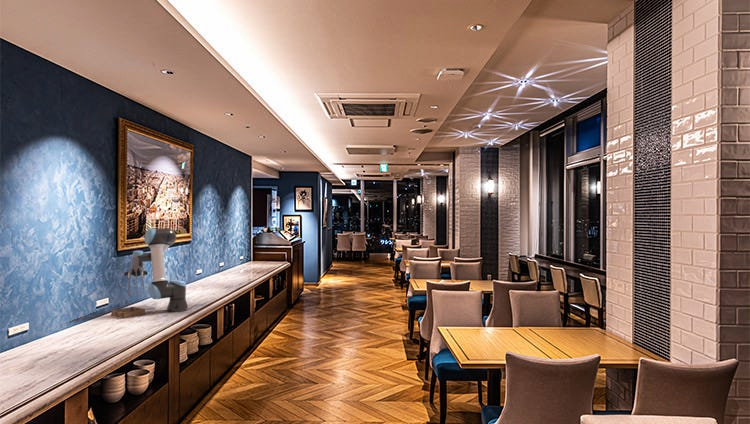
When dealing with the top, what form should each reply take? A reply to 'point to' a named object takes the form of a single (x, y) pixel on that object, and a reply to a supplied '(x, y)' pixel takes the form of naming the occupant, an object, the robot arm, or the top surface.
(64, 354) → the top surface
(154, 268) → the robot arm
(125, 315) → the holder frame
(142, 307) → the slate tile
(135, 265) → the citrus juicer
